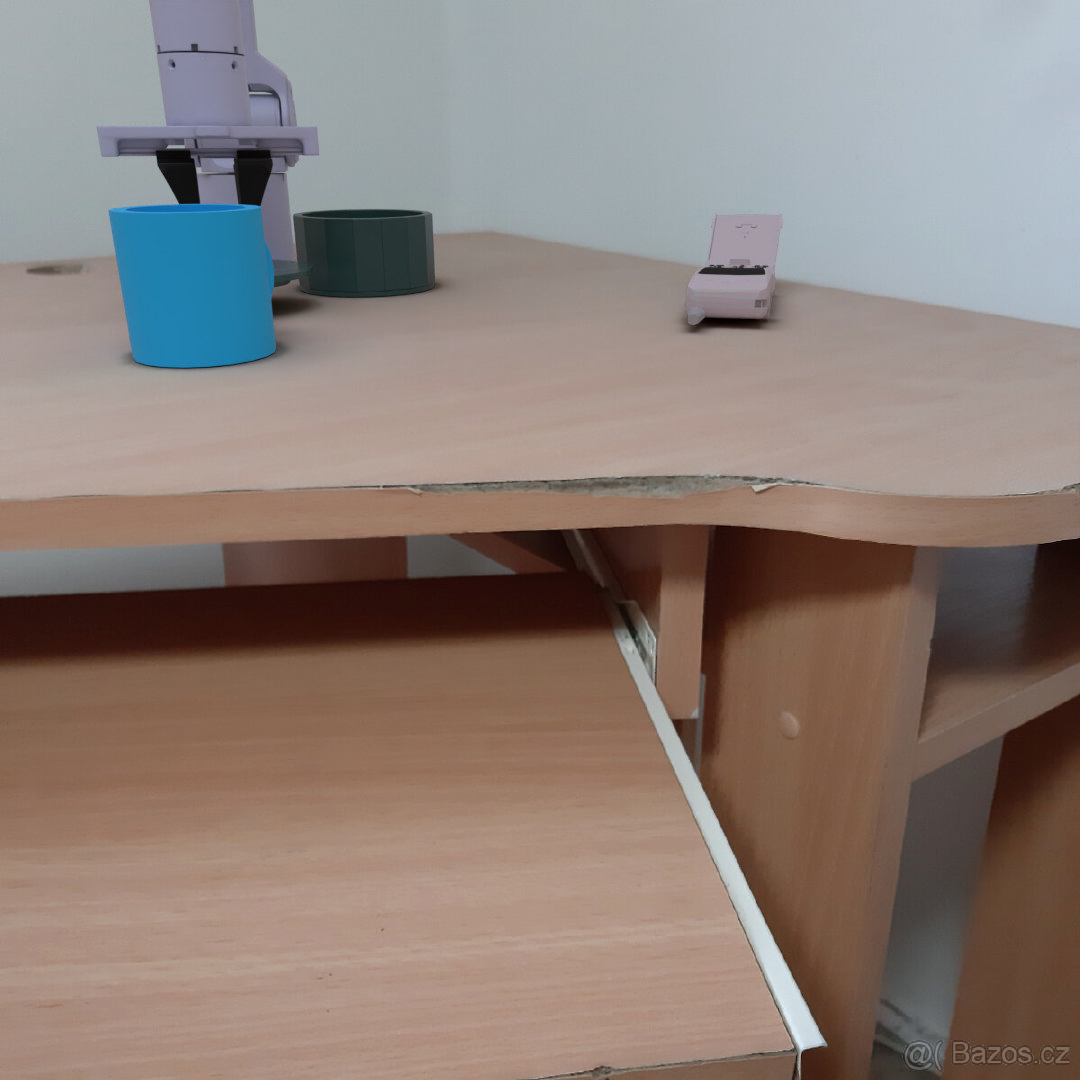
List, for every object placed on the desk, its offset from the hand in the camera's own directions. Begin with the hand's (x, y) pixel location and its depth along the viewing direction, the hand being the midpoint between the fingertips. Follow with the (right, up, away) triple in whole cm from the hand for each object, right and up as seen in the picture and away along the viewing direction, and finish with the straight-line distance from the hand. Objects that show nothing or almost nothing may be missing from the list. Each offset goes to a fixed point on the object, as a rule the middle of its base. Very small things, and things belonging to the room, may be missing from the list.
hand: (226, 262), depth 70 cm
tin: (+8, +1, +12) cm, 15 cm away
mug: (+4, -9, -11) cm, 15 cm away
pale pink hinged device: (+38, -2, +4) cm, 38 cm away
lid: (0, -1, 0) cm, 1 cm away
